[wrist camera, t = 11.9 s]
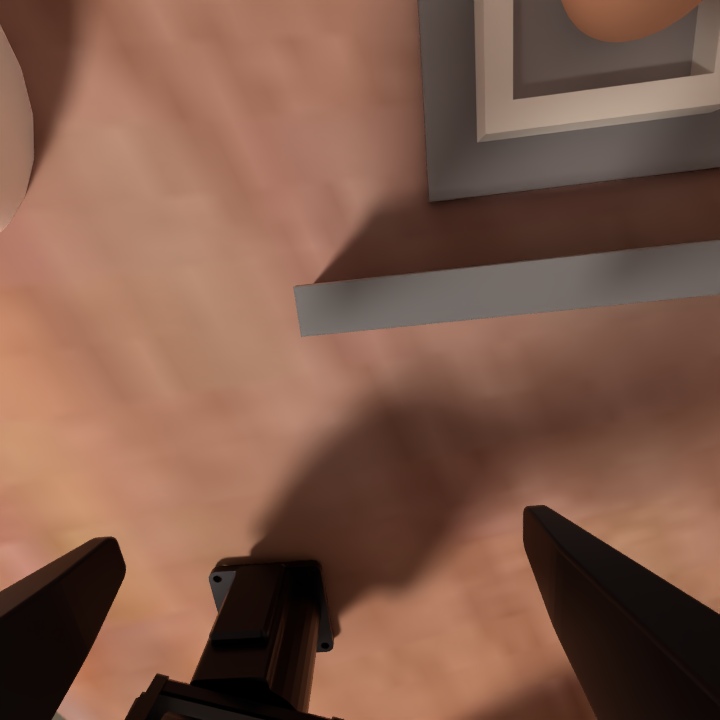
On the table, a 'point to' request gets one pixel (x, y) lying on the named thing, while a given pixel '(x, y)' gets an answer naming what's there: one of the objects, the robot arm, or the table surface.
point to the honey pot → (13, 134)
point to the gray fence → (510, 288)
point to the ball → (625, 17)
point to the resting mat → (562, 98)
